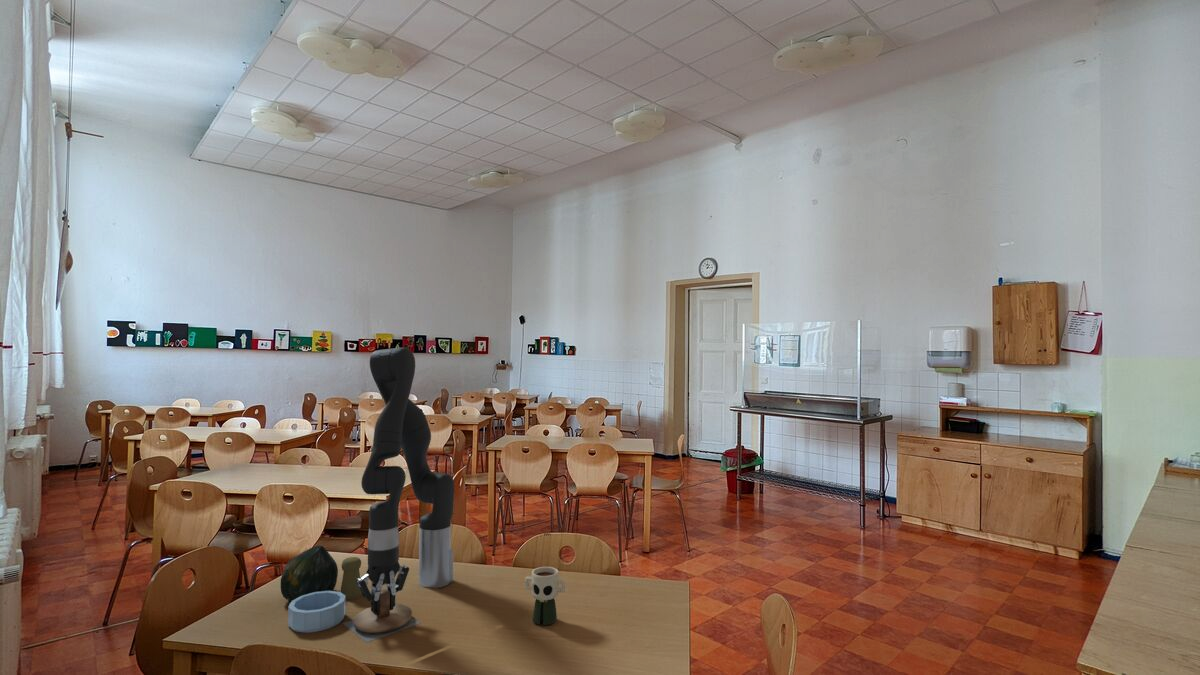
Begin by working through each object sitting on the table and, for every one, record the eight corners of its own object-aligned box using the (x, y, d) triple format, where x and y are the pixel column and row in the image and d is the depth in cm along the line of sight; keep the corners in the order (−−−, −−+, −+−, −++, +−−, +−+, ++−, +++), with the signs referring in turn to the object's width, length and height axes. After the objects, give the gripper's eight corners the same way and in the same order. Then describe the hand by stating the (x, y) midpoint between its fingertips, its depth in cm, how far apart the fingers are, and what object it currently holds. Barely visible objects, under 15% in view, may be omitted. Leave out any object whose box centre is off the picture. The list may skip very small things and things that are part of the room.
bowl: (332, 607, 162) (333, 587, 162) (353, 623, 153) (353, 601, 153) (281, 623, 153) (281, 601, 153) (299, 640, 144) (300, 617, 144)
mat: (394, 608, 162) (394, 606, 162) (420, 625, 152) (420, 623, 152) (342, 625, 152) (342, 623, 152) (366, 644, 142) (366, 642, 142)
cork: (354, 602, 166) (354, 562, 166) (334, 600, 167) (335, 561, 167) (366, 593, 172) (367, 555, 172) (348, 591, 173) (348, 553, 173)
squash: (261, 580, 167) (289, 545, 164) (306, 565, 180) (332, 531, 177) (287, 622, 162) (316, 585, 159) (331, 602, 176) (358, 569, 173)
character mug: (520, 625, 152) (520, 574, 152) (528, 613, 159) (529, 565, 159) (561, 629, 150) (561, 578, 150) (568, 617, 157) (568, 568, 157)
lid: (395, 602, 162) (395, 576, 162) (421, 618, 152) (422, 591, 152) (344, 619, 152) (344, 592, 152) (369, 638, 142) (369, 609, 142)
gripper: (401, 534, 160) (401, 598, 160) (350, 547, 150) (349, 616, 149) (416, 540, 155) (415, 607, 155) (363, 554, 145) (362, 625, 144)
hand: (383, 611), depth 152 cm, fingers closed on lid, 3 cm apart
